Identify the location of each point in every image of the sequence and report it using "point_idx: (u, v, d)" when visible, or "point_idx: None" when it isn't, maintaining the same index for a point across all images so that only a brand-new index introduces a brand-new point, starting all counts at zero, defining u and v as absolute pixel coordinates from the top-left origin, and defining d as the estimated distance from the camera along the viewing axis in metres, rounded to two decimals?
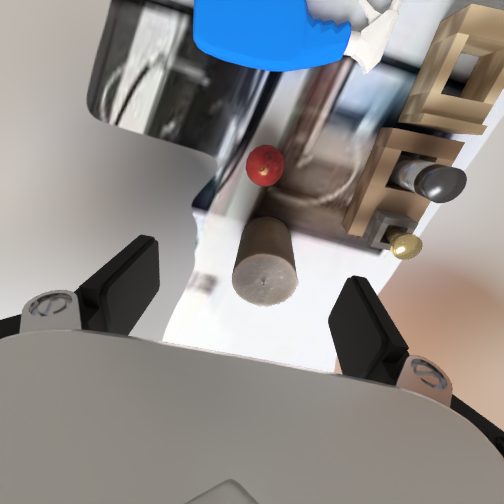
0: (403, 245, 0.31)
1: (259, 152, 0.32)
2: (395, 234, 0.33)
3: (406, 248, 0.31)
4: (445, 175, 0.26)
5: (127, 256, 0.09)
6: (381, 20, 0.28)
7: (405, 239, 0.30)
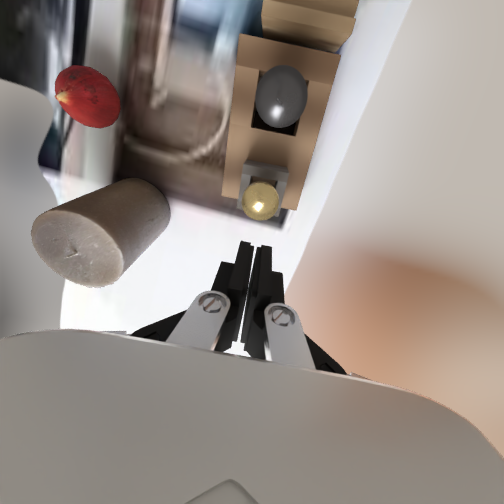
0: (253, 198, 0.22)
1: (63, 71, 0.23)
2: None
3: (258, 203, 0.22)
4: (274, 78, 0.17)
5: (244, 261, 0.10)
6: None
7: (252, 189, 0.21)
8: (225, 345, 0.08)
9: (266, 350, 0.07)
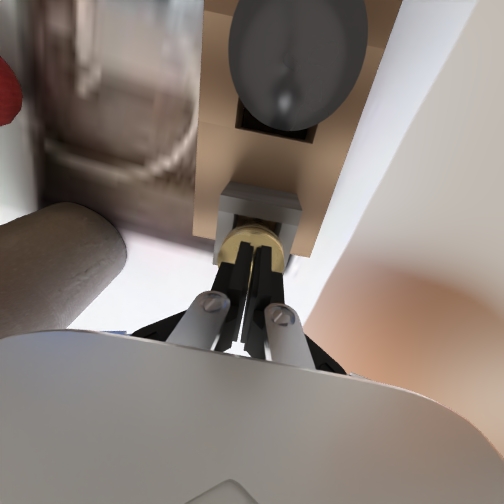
0: None
1: None
2: None
3: None
4: None
5: (244, 261, 0.10)
6: None
7: (235, 242, 0.12)
8: (225, 345, 0.08)
9: (266, 350, 0.07)
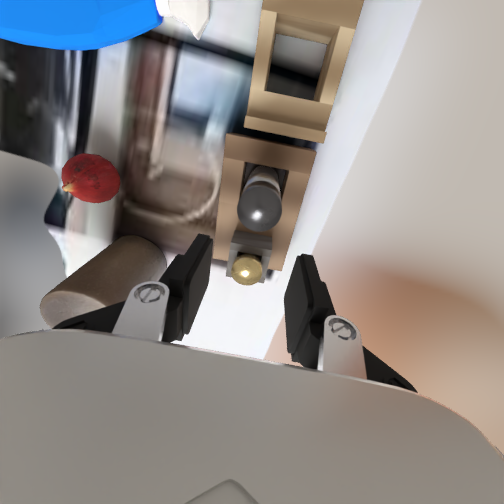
0: (240, 269, 0.26)
1: (68, 162, 0.26)
2: (243, 255, 0.28)
3: (245, 273, 0.26)
4: (252, 197, 0.20)
5: (196, 252, 0.10)
6: None
7: (239, 263, 0.26)
8: (168, 337, 0.08)
9: (319, 355, 0.07)
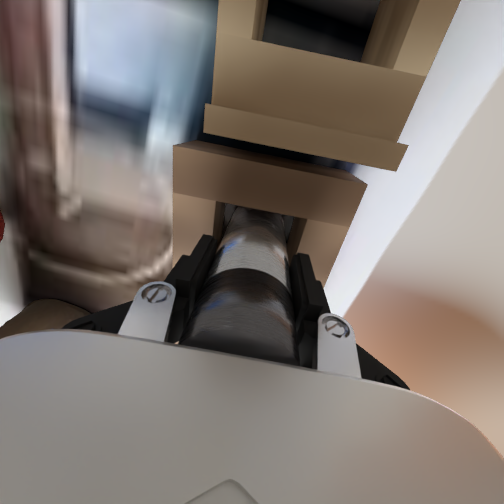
0: None
1: None
2: None
3: None
4: (212, 349, 0.06)
5: (201, 253, 0.10)
6: None
7: None
8: (174, 336, 0.08)
9: (314, 354, 0.07)
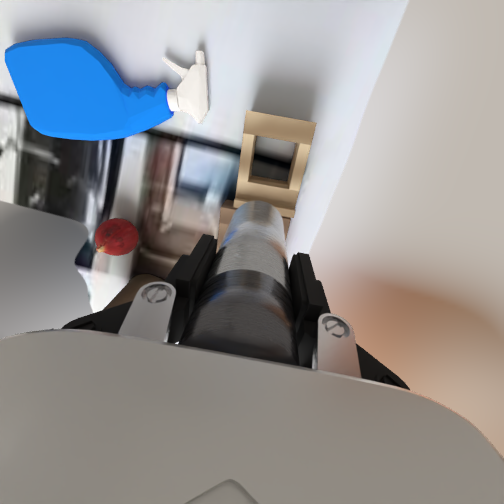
0: None
1: (101, 228, 0.34)
2: None
3: None
4: None
5: (201, 253, 0.10)
6: (191, 75, 0.27)
7: None
8: (174, 337, 0.08)
9: (314, 354, 0.07)
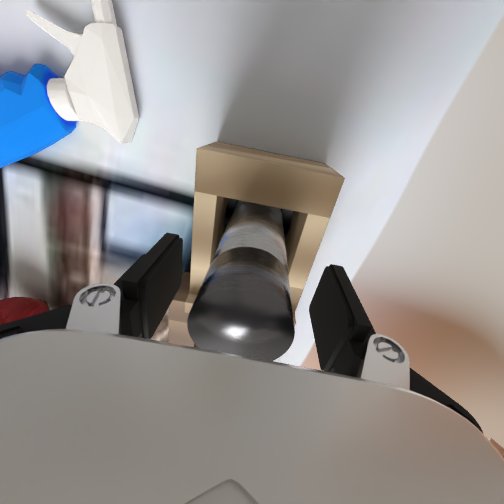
0: None
1: None
2: None
3: None
4: (222, 307, 0.08)
5: (158, 252, 0.09)
6: (87, 48, 0.13)
7: None
8: None
9: (359, 370, 0.07)
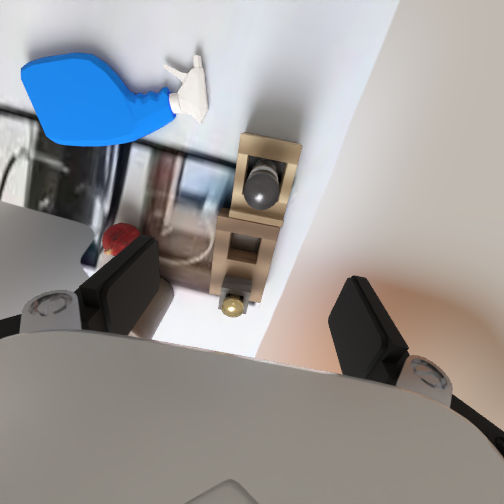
0: (228, 307, 0.37)
1: (108, 233, 0.37)
2: (230, 294, 0.40)
3: (231, 309, 0.38)
4: (256, 181, 0.25)
5: (127, 256, 0.09)
6: (190, 79, 0.30)
7: (227, 303, 0.37)
8: None
9: None
